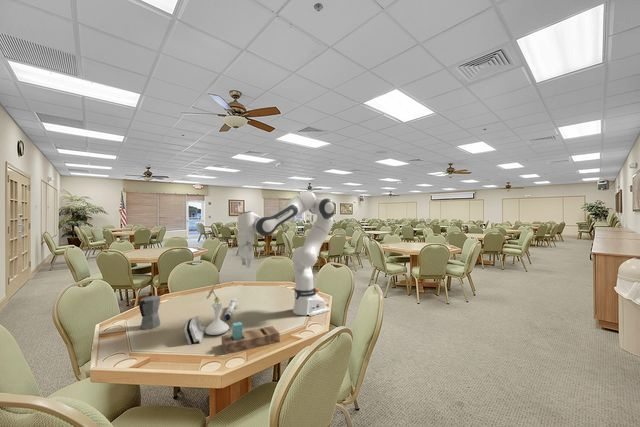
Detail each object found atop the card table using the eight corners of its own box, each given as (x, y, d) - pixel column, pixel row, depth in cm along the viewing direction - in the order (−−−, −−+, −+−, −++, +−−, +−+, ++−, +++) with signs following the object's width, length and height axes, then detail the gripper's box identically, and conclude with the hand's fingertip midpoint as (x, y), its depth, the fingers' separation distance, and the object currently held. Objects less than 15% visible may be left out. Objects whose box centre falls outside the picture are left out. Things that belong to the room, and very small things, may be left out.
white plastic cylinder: (222, 314, 155) (230, 296, 180) (222, 325, 156) (230, 305, 181) (231, 313, 156) (238, 295, 181) (232, 324, 157) (238, 305, 182)
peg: (240, 343, 126) (240, 321, 127) (242, 347, 123) (242, 324, 123) (232, 345, 125) (232, 323, 125) (234, 349, 121) (234, 326, 122)
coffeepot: (149, 321, 155) (149, 289, 155) (166, 321, 155) (166, 289, 155) (130, 333, 139) (130, 297, 140) (149, 333, 139) (149, 297, 140)
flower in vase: (210, 328, 145) (210, 280, 146) (232, 328, 145) (232, 280, 145) (199, 338, 132) (199, 286, 133) (222, 338, 132) (222, 286, 132)
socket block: (272, 334, 137) (272, 325, 137) (279, 341, 128) (279, 333, 128) (221, 344, 125) (221, 336, 125) (225, 354, 117) (225, 344, 117)
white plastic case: (200, 343, 127) (192, 323, 127) (189, 348, 126) (181, 328, 125) (206, 329, 143) (199, 311, 143) (197, 333, 142) (190, 315, 142)
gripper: (256, 242, 144) (257, 268, 144) (247, 239, 162) (247, 263, 162) (244, 242, 141) (244, 269, 141) (236, 240, 159) (236, 264, 158)
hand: (246, 266), depth 151 cm, fingers open, 8 cm apart
